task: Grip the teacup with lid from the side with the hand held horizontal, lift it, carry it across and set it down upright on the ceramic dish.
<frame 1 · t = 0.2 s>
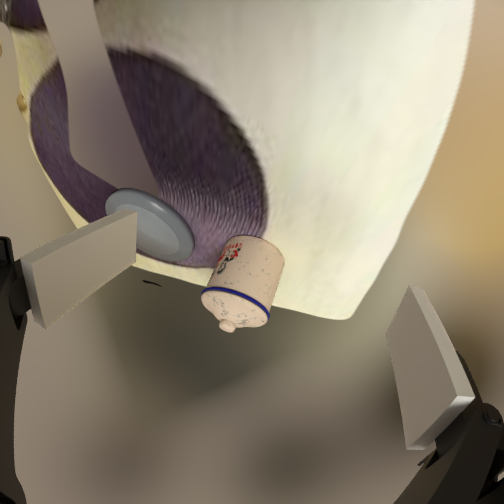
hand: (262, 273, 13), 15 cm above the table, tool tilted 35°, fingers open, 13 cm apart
dish: (149, 225, 44), on the table
teacup with lid: (252, 257, 42), on the table
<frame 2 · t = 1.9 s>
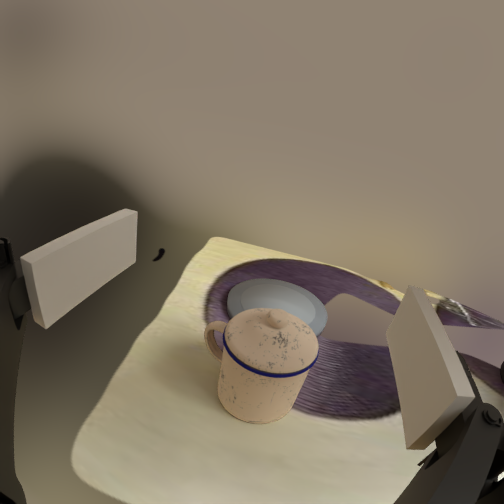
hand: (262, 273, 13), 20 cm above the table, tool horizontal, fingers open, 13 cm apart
dish: (276, 310, 45), on the table
teacup with lid: (244, 389, 30), on the table
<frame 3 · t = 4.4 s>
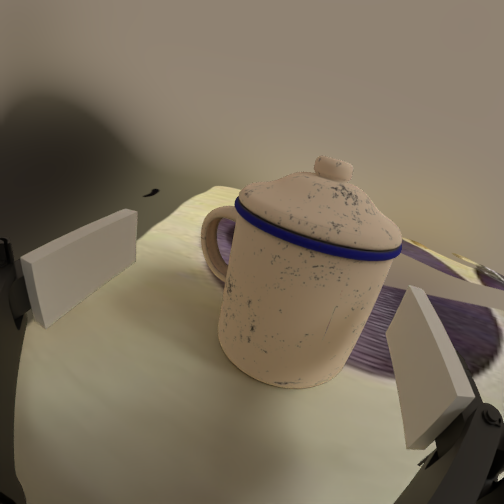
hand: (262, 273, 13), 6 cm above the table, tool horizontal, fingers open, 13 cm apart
teacup with lid: (263, 333, 19), on the table
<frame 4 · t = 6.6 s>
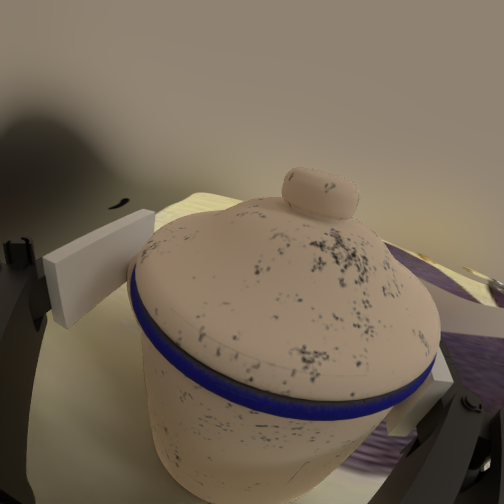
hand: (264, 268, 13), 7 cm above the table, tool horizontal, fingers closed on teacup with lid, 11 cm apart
teacup with lid: (219, 419, 12), on the table, touching gripper
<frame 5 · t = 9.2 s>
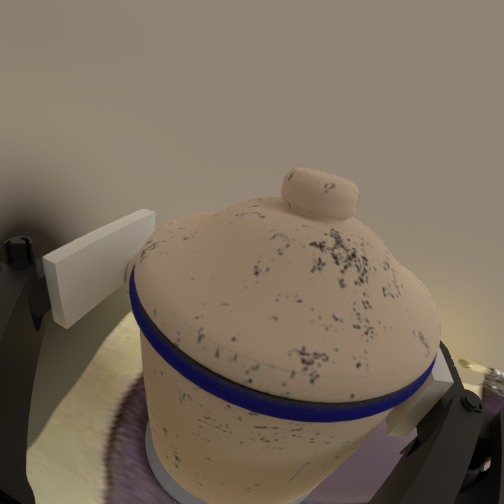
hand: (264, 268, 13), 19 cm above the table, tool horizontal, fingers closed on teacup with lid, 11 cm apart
dish: (236, 446, 21), on the table
teacup with lid: (219, 419, 12), point 12 cm above the table, touching gripper
when the fingers open (9 cm above the table, at t = 12.1 s): teacup with lid drops 1 cm, resting on dish.
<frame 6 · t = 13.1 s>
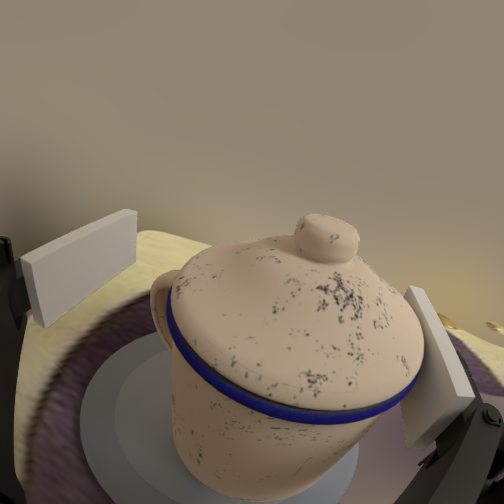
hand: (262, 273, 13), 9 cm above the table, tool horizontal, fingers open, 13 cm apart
dish: (221, 425, 14), on the table
teacup with lid: (232, 421, 14), point 1 cm above the table, touching dish, gripper
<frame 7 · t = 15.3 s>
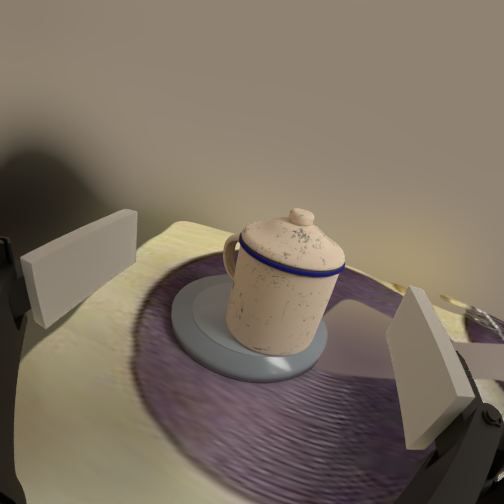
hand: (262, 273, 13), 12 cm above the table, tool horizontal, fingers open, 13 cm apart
dish: (249, 323, 29), on the table
teacup with lid: (258, 320, 28), point 1 cm above the table, touching dish
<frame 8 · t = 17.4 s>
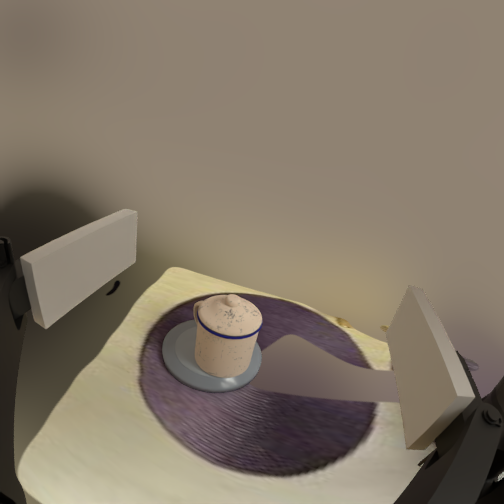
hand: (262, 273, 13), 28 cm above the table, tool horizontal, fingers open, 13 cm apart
dish: (211, 354, 44), on the table
teacup with lid: (215, 353, 43), point 1 cm above the table, touching dish
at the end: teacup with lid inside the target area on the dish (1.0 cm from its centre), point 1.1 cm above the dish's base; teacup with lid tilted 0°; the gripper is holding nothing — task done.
